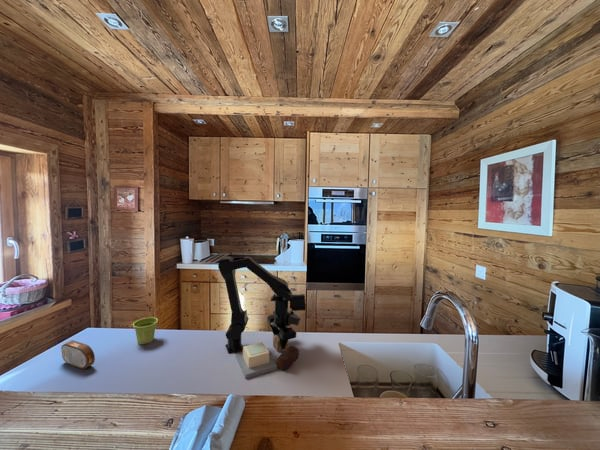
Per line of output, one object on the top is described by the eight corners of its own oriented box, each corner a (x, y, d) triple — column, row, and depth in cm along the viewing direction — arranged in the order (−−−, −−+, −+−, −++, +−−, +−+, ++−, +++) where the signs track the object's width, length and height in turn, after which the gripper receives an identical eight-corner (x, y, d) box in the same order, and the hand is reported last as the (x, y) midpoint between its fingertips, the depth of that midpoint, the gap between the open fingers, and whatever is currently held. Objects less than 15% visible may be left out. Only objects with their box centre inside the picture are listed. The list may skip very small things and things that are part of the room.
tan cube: (272, 346, 109) (273, 335, 108) (283, 343, 111) (283, 332, 111) (277, 352, 104) (277, 340, 104) (288, 349, 107) (288, 338, 106)
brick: (285, 372, 92) (285, 360, 91) (276, 369, 93) (276, 357, 93) (298, 358, 101) (299, 346, 101) (290, 355, 103) (290, 344, 102)
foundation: (235, 357, 100) (236, 343, 99) (264, 350, 105) (264, 337, 105) (245, 378, 87) (245, 363, 87) (276, 369, 93) (277, 354, 93)
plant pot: (162, 337, 114) (162, 318, 113) (145, 348, 104) (145, 328, 104) (145, 334, 116) (145, 316, 115) (127, 345, 107) (127, 325, 106)
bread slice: (96, 367, 91) (95, 345, 91) (86, 372, 88) (85, 349, 88) (69, 358, 96) (69, 337, 96) (59, 363, 93) (59, 341, 93)
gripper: (308, 315, 102) (307, 352, 103) (289, 300, 119) (288, 331, 120) (283, 320, 97) (282, 358, 98) (267, 303, 114) (266, 336, 114)
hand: (280, 345), depth 108 cm, fingers open, 6 cm apart
